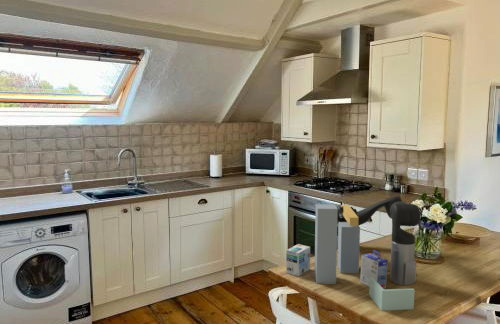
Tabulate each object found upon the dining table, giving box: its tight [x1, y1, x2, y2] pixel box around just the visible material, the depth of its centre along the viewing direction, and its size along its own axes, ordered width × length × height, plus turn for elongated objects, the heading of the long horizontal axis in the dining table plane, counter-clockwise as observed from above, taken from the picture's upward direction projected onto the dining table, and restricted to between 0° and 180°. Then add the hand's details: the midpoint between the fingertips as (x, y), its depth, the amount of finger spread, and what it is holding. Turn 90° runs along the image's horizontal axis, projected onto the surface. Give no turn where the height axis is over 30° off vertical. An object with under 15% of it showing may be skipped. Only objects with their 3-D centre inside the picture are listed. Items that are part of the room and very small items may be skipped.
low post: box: [337, 222, 361, 274], centre depth 180 cm, size 8×8×21 cm
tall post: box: [314, 203, 339, 285], centre depth 169 cm, size 8×8×32 cm
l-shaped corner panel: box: [368, 277, 416, 311], centre depth 150 cm, size 12×12×8 cm
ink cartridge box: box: [359, 249, 388, 290], centre depth 164 cm, size 10×6×14 cm, turn 28°
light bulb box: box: [285, 243, 311, 277], centre depth 179 cm, size 11×7×11 cm, turn 143°
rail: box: [340, 204, 358, 226], centre depth 178 cm, size 22×4×4 cm, turn 177°
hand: (347, 208), depth 183 cm, fingers closed on rail, 3 cm apart
